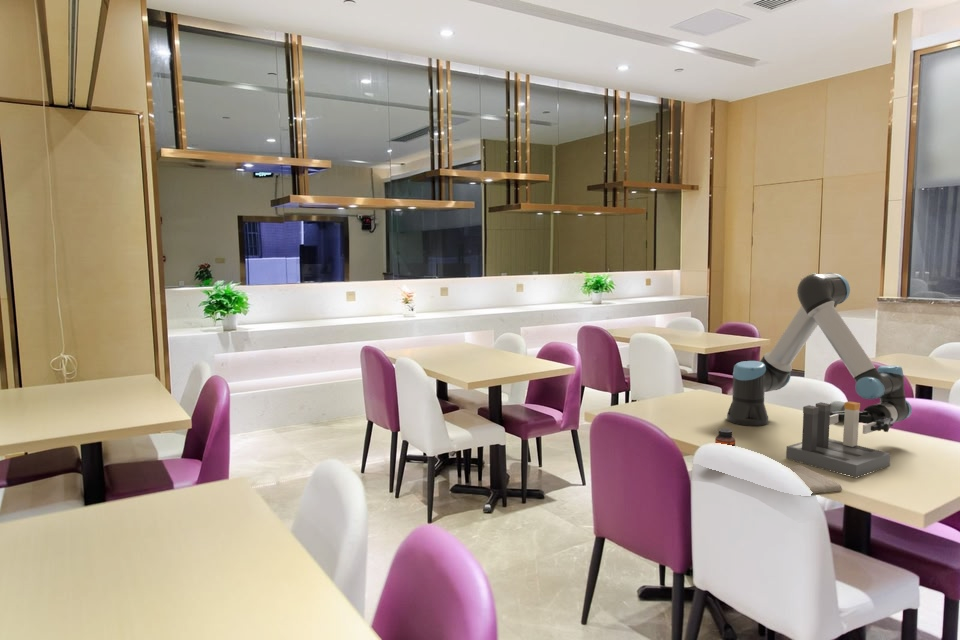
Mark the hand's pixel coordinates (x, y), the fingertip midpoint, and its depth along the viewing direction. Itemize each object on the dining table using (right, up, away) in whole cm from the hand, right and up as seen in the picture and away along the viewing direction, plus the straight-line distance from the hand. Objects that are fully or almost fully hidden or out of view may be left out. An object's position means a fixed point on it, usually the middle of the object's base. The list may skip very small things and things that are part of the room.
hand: (844, 425), depth 203 cm
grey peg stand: (-3, -12, -1) cm, 12 cm away
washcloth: (-22, -14, -18) cm, 32 cm away
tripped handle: (+3, -7, +3) cm, 8 cm away
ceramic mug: (+26, -6, +49) cm, 55 cm away
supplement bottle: (-40, -12, -3) cm, 42 cm away
